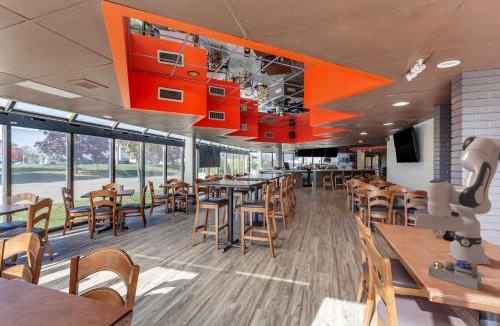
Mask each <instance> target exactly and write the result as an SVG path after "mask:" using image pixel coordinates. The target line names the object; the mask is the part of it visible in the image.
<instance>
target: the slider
mask: <svg viewBox="0 0 500 326" xmlns="http://www.w3.org/2000/svg"><path fill="white" fill-rule="evenodd" d="M471 265H472V276H477V275H478V273H479V271H478V265H479V264H476V263H473V264H472V263H471Z"/></svg>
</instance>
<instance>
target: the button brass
mask: <svg viewBox="0 0 500 326" xmlns="http://www.w3.org/2000/svg"><path fill="white" fill-rule="evenodd" d="M434 262H435V266H436V267H440V268H443V264H444V263H443V262H439V261H434Z"/></svg>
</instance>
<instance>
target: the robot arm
mask: <svg viewBox="0 0 500 326" xmlns="http://www.w3.org/2000/svg"><path fill="white" fill-rule="evenodd" d="M461 149H462V151H463V152H462V154H461V155H460V157H459V164H460V165H461V167H462V168H464V170H466V171H467V173H466V175H465V178H464V184H465V186H463V185H462V186H461V185H453V184H451V183H449V182H448V180H447V179H445V178H435V179H431V180H430V181H428V184H427V190H426V192H427V194H426V195H427V196H426V197H427V199H428V201H427V210H422V209H421V210H419V209H418V210H415V211H414V212H413V217H414V226H415V228H416V229H422V230H423V229H424V230H431V231H432V233H433V234H434V238H435V239H437V240H443V236H444V234H445V233H446V231H455V234H454V241H450V252H447V254H446V255H447V256H448V257H451V258H453V259H454V260H456V261H457V260H464V261H467V262H469V263H471V265H472V264H473V263H476V264H478V265H487V266H490V265H491V262H490V259H489V257H488V255H487V254H486V253H485V248H484V246H483V245H482V243H483V242H482V241H483V240H482V237H481V223H480V221H479V219H477V216H476V215H485V214H487V213H489V212H490V211H491V209H492V202H491V201H490V199H489V190H490V186H491V184H492V182H493V179H494V177H495V176H496V175H495V174H496V172H497V169H498V167H499V163H500V139H499V138H496V137H495V138H494V137H482V136H481V137H479V136H468V137H467V138H465V140H464V141H463V143H462V146H461ZM437 230H438V231H441V233H440V234H441V235H440V234H437Z"/></svg>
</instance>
